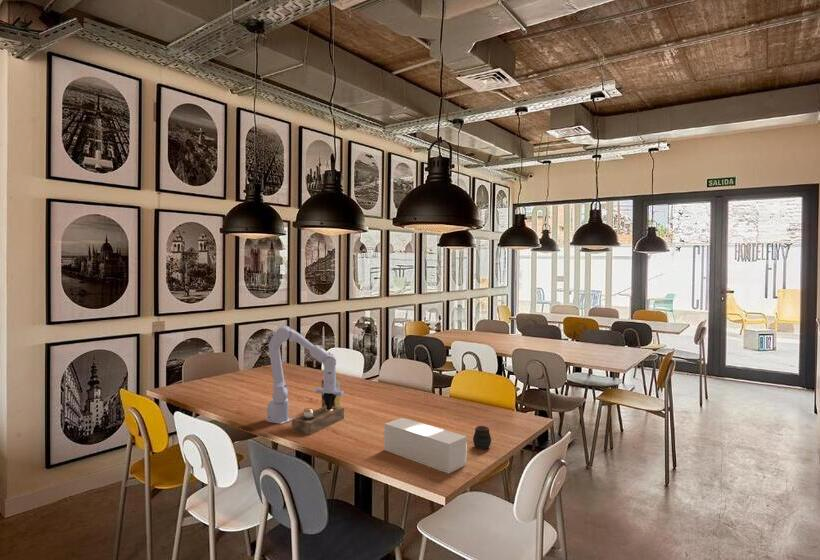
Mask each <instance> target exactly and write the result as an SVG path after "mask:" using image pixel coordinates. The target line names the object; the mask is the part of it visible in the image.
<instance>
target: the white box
mask: <svg viewBox="0 0 820 560" xmlns="http://www.w3.org/2000/svg"><path fill="white" fill-rule="evenodd" d="M383 427H384V429H383V430H384V434H383V435H384V438H383V442H384V443H383V445H384V446H383V447H384V448H383V451H386V452H389V453H391V454H394V455H397V456H399V457H401V458H405V459H407V460H410V461H413V462H416V463H419V464H422V465H424V466H426V467H430V468H433V469H435V470H437V471H441V472H444V473H445V474H450V473H453V472H455V471H457V470H459V469H461V468H462V467H465V466H467V454H468V453H467V447H468V445H467V444H468V443H467V440H468V436H467V435H464V434H460V433H457V432H454V431H450V430H446V429H443V428H440V427H436V426H432V425H429V424H426V423H423V422H419V421H415V420H411V419H408V418H405V417H400V418H398V419H394V420H392V421H389V422H385V423H384V426H383Z"/></svg>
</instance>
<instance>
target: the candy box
mask: <svg viewBox="0 0 820 560" xmlns="http://www.w3.org/2000/svg"><path fill="white" fill-rule="evenodd" d="M323 387H324V378H322V379H321V388H323ZM336 390H340V391H341V380H339V379H336ZM322 395H324V393H321V407H324V406H326V404H325V401H324V399H323V397H322ZM340 397H341V396H338V395H337V396H336V398H335V400H334V402H333V406H335V407H340V404H341V403H340V401H341V398H340Z"/></svg>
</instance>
